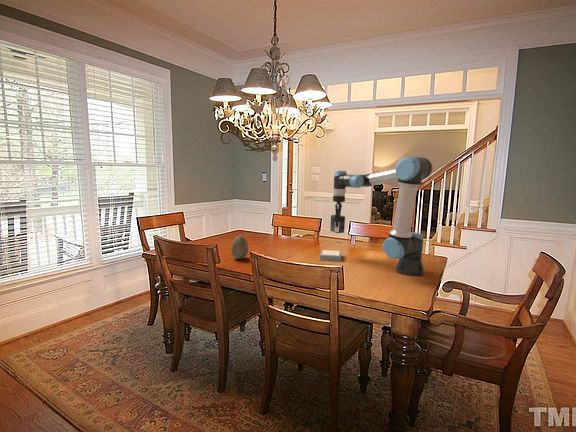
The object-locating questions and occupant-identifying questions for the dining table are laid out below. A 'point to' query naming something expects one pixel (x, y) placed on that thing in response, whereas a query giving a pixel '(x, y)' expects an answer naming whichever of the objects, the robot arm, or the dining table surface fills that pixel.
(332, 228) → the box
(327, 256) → the plinth
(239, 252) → the decorative egg
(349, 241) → the dining table surface
